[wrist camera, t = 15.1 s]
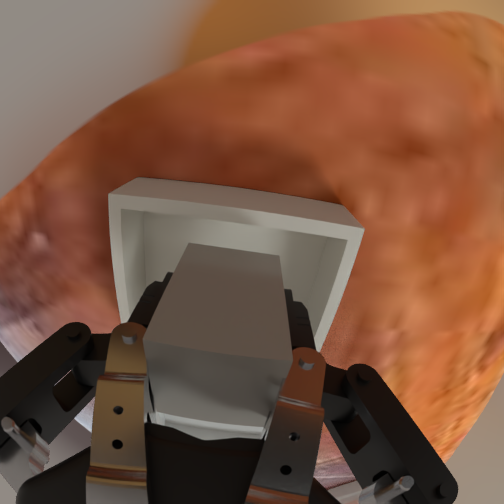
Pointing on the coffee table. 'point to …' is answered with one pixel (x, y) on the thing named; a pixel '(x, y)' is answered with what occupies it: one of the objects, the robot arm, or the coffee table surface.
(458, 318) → the coffee table surface
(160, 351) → the light grey block
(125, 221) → the open box
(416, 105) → the coffee table surface
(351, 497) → the white ring
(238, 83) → the coffee table surface
